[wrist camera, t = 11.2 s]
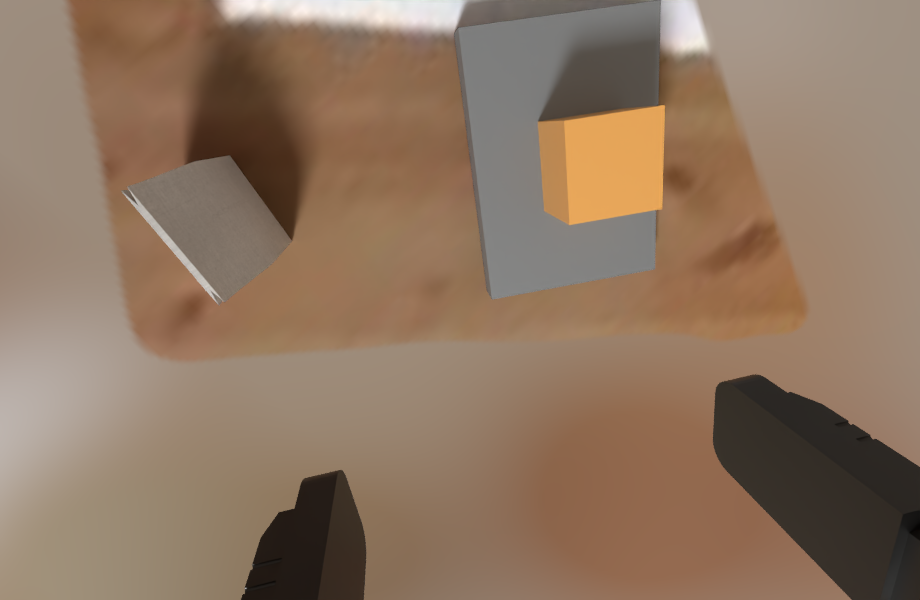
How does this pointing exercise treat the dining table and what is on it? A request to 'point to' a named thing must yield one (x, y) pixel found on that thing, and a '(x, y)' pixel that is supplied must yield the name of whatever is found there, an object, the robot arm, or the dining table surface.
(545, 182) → the matte orange cube
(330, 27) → the dining table surface
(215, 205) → the grey cardboard box
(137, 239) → the dining table surface
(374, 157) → the dining table surface
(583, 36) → the board
